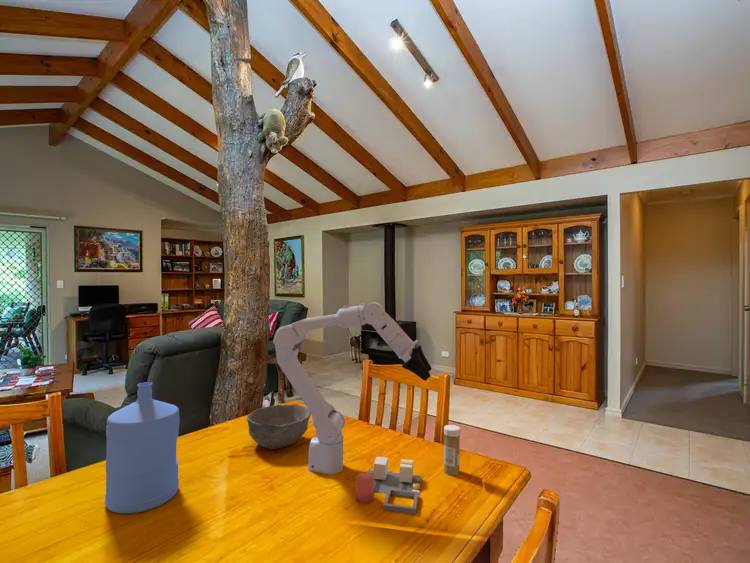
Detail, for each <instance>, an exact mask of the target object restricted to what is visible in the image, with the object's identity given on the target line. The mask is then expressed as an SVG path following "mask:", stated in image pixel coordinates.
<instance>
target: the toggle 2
mask: <svg viewBox="0 0 750 563" xmlns="http://www.w3.org/2000/svg"><path fill="white" fill-rule="evenodd" d="M399 473H400V482H409V483H412V478H413V475H414V459H405V458H404V459H403V458H401V459H400V465H399Z"/></svg>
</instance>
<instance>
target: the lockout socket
mask: <svg viewBox="0 0 750 563" xmlns="http://www.w3.org/2000/svg"><path fill="white" fill-rule="evenodd" d="M391 496H395V497H404V498H409V499H410V498H411V499H413V502H412V506H409V505H403V504H402V505H401V504H393V503H390V499H391ZM418 501H419V497H418V492H417V491H408V490H399V489H391V488H388V491H387V494H385V497H384V501H383V505H382V511H386V512H394V513H399V514H400V513H402V514H408V515H409V514H410V515H416V514H417V508H418Z"/></svg>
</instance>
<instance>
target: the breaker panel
mask: <svg viewBox="0 0 750 563" xmlns="http://www.w3.org/2000/svg"><path fill="white" fill-rule="evenodd" d="M367 473H368V474H371V475H373V476H374V469H373V470H372V469H368V471H367ZM422 479H423V475H419V474H413V478H412V483H409V482H400V472H399V473H398V472H391V471H388V473H387V476H386V480H382V479H374V493H379V494H385V495H386V494H387V491H388V488H391V489H399V490H408V491H417V492H418V498H420V491H421V487H422V481H423V480H422Z"/></svg>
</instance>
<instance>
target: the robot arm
mask: <svg viewBox="0 0 750 563" xmlns="http://www.w3.org/2000/svg"><path fill="white" fill-rule="evenodd" d="M366 324H367V325H370V326H372V327H373V329H374V330H375V331H376V332H377V334H378V336H380V337H381V338H382V339H383V340H384V341H385V343H386V344H387V345H388V346H389V348H390V349H391V350H392V351H393V352H394V353H395V354H396V356H397V357H398V359H401V360H402V361H403V364H402V365H401V367H402V368H403V369H405V370H407V371H409V372H411V373H413V374H415V375H416V376H417V377H418V378H420V379H421V380H423V381H424V382H425V381H427V380H428V379H430V378H431V373H430V371H431V370H432V368H433V367H432V366H431V364H430V363H429V361H428V359H427V358H426V356H425V354H424V351H423V348H422V346H421V345H420V344H418V343H419V340H418V339H416V340H414V341H413V340H412V339H411V337H409V336H408V334H407V333H406V332H405V331H404V330H403V329H402V327H401V326H400V325H399V324H398V323H397V322H396V321H395V319H394V318H392V317H391V316H390V314H388V313H387V312H386V309H385V307H384V306H383V305H382V304H381V303H380V302H375V301H374V302H373V301H371V302H369V303H368V304H366V303H365V302H361V303H360V304H359V305H354V306H349V305H348V304H347V305H343V306H342V308H339V309H338V311H337V312H336V313H335V314H328V315H320V316H313V317H308V318H303V319H301V320H298V321H296V322H295V321H294V322H293V323H290V324H288V325H282V326H280V327H279V328H277V330H276V331H275V333H274V336H273V340H272V343H273V344H274V348H275V356H276V362H277V364H278V366H279V368H280V369H281V371H282V373H283V374H284V375H285V377H286V378H287V379H288V381H289V383H290V385H291V386H292V387H293V389H294V390H295V392H296V393H297V395H298V396H299V398H300V399H301V401H302V402H303V404H304V405H305V407H306V408H308V410H309V411H310V413H311V423H312V426H313V428H314V429H315V435H316V436H315V437H312V438H311V440H310V442H309V445H308V471H307V474H309V473H310V472H316V473H321V474H327V475H335V474H338V473H340V472H342V470H343V468H344V436H343V433H342V430H343V429H344V427H345V425H346V419H345V416H344V415H343V414H342V412H341V411H338V410H336V408H335V406H333V405H332V404H330V403H328V402H327V401H326V399H325V398H324V396H323V395H322V394H321V392H320V390H319V389H318V388H317V386H316V384H315V383H314V381H313V380H312V378H311V377H310V376H309V374H308V373H307V371H306V369H305V367H304V366H303V365H302V363H301V362H300V360H299V358H298V354H299V351H300V347H301V345H302V344H303V342H304V340H305V339H306V337H307V335H310V333H312V331H313V330H314V331H315V330H318V329H323V328H324V329H325V328H328V327H333V326H339V327H341V328H342V329H348V328H353V327H359V326H360V327H361V326H365V325H366ZM417 344H418V345H417ZM416 345H417V346H416Z"/></svg>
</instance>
